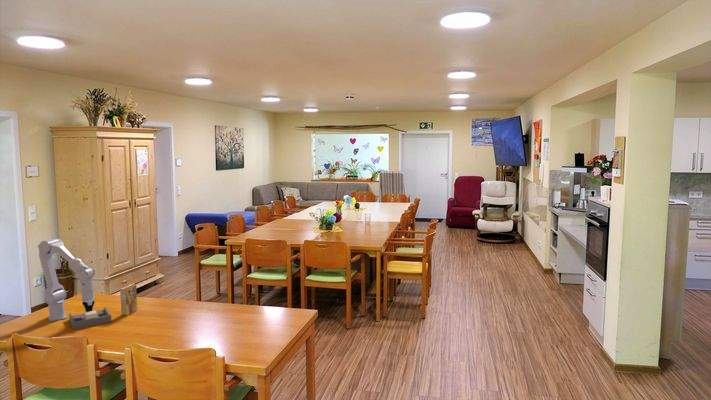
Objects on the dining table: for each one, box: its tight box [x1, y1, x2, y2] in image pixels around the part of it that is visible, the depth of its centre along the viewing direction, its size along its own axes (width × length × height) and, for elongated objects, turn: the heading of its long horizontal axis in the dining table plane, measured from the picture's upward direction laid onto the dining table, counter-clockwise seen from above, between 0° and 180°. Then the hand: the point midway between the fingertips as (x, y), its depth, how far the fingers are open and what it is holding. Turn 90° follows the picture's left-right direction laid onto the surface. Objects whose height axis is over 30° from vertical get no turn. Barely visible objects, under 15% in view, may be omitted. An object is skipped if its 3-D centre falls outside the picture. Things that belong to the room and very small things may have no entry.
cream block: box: [84, 310, 97, 320], centre depth 262 cm, size 5×5×4 cm
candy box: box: [119, 283, 139, 316], centre depth 277 cm, size 9×4×15 cm, turn 166°
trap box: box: [68, 306, 112, 330], centre depth 266 cm, size 17×18×4 cm
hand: (89, 314), depth 267 cm, fingers closed
